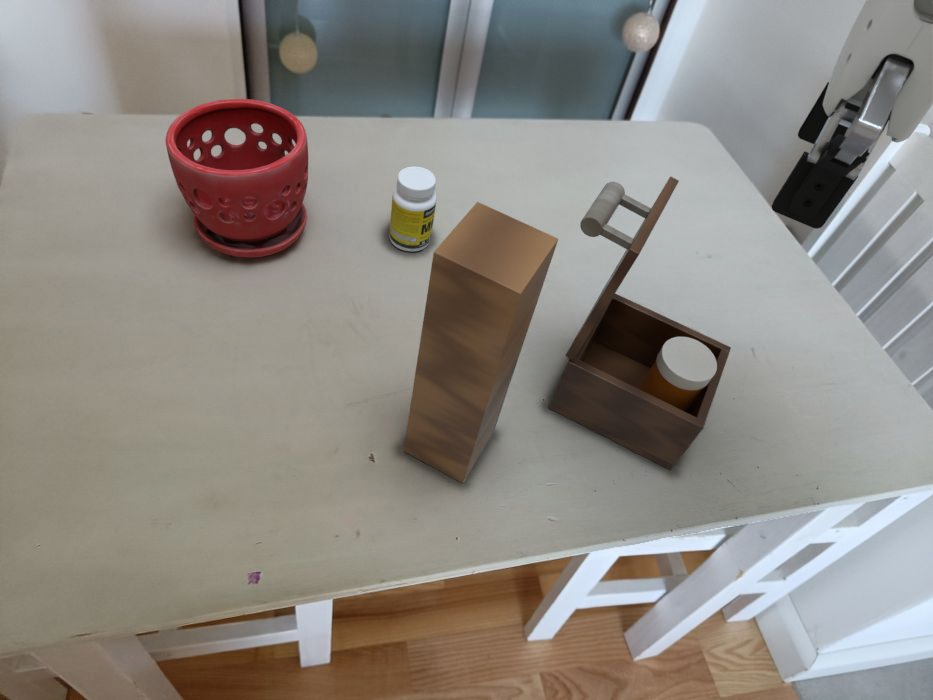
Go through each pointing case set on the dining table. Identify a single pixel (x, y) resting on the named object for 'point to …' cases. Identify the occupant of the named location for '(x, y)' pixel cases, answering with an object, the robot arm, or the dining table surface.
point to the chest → (633, 383)
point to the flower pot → (242, 175)
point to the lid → (597, 225)
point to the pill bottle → (680, 372)
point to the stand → (473, 335)
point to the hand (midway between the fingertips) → (807, 178)
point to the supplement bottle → (413, 209)
